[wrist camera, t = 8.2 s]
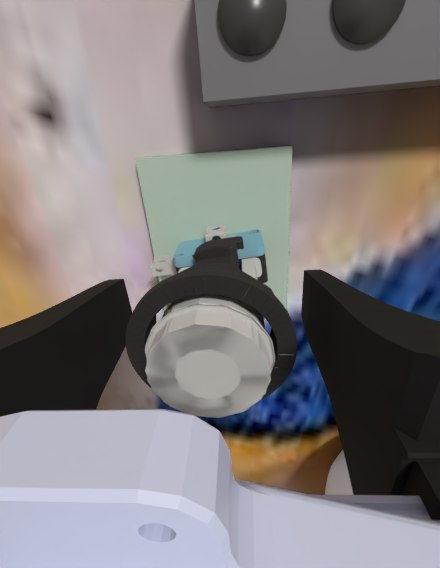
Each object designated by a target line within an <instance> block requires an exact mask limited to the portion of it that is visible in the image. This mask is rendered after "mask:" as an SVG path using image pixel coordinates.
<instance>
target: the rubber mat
mask: <svg viewBox="0 0 440 568" xmlns="http://www.w3.org/2000/svg"><path fill="white" fill-rule="evenodd" d="M135 161H136V166H137V171H138V177H139V182H140V187H141V192H142V197H143V202H144V207H145V212H146V218H147V223H148V228H149V233H150V238H151V243H152V248H153V253H154V258H155V257H160V256H167V255H171V254H170V253H171V252H175V251H176V249H177V247H178V245H179V244H180V243H181V242H183V241H188V240H195V239H201V238H205V234H206V230H207V228H208V227H210V226H217V225H223V224H224V225H226V235H227V234H234V233H240V232H247V231H249V230H261V234H262V238H263V242H264V248H265V257H266V266H267V275H268V281H267V282H266V283H263V284H265V285H267V286H268V287H270V288H271V289H272V291H273V293H274V295H275V296H276V297H277V298H278V299H279V301H280V302H281V303H282V304H283V306H284V307H285V309H286V310H287V294H288V264H289V234H290V204H291V173H292V146H278V147H266V148H254V149H242V150H230V151H218V152H205V153H193V154H181V155H169V156H157V157H145V158H137V159H135ZM217 229H220V228H216V229H213V230H217ZM160 262H165V260H160ZM157 271H158V272H162V271H163V269H161V270H157ZM171 276H172V275H171V274H170V275H163V276H158V279H159V282H161V281H162V280H164V279H167V278H169V277H171ZM166 307H167V305H166V306H165V307H164V310H166Z"/></svg>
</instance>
